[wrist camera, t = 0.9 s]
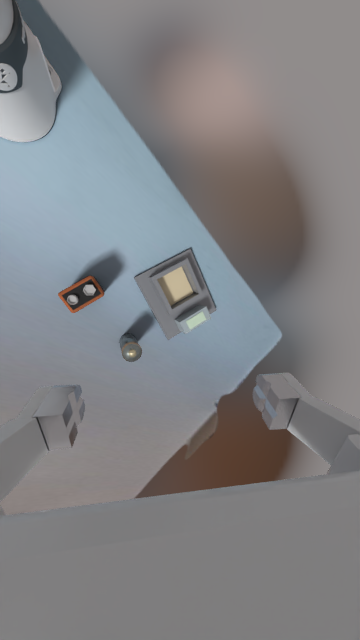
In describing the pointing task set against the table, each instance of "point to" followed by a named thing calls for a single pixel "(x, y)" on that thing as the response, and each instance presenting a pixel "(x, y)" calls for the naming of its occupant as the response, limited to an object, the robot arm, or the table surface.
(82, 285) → the battery
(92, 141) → the table surface
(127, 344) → the cell
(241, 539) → the robot arm
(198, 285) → the tester
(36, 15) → the table surface
